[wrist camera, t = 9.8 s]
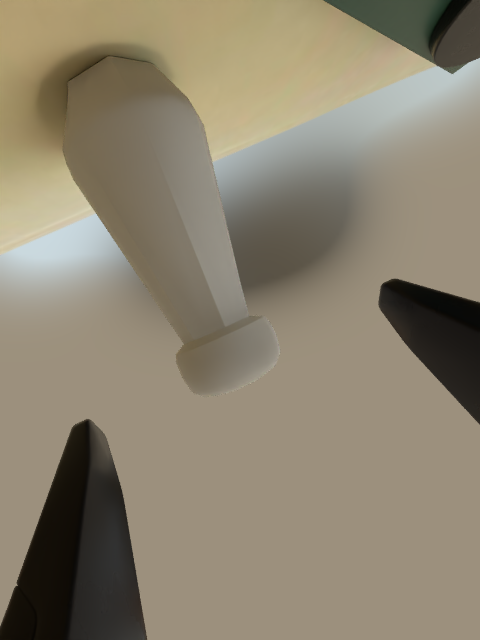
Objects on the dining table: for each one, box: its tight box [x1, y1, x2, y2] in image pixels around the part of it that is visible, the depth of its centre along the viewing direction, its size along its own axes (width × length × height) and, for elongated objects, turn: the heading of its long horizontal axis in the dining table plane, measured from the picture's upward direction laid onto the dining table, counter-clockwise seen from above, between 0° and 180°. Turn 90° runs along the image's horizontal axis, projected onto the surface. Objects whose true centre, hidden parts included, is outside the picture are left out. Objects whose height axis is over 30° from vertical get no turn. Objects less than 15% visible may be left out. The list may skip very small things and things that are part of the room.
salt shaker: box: [63, 56, 280, 397], centre depth 15 cm, size 6×6×13 cm
